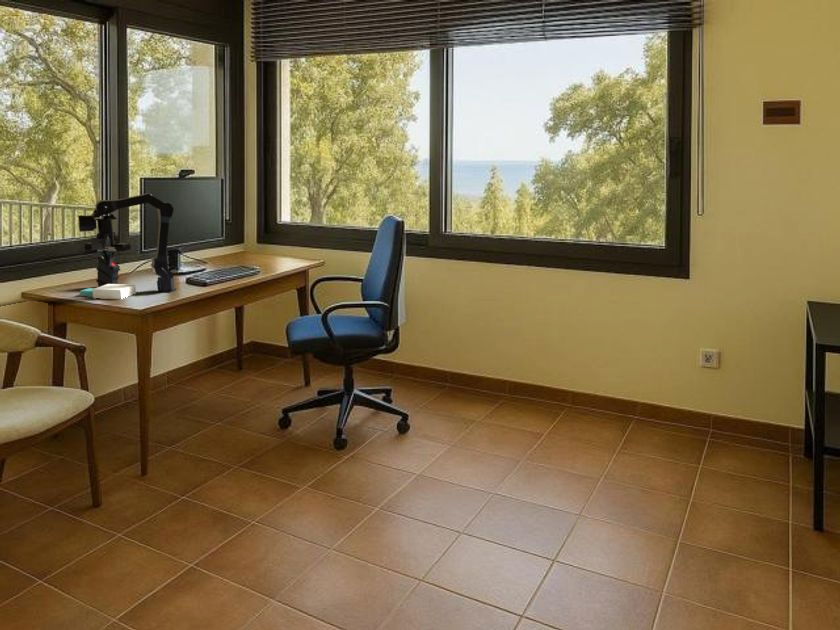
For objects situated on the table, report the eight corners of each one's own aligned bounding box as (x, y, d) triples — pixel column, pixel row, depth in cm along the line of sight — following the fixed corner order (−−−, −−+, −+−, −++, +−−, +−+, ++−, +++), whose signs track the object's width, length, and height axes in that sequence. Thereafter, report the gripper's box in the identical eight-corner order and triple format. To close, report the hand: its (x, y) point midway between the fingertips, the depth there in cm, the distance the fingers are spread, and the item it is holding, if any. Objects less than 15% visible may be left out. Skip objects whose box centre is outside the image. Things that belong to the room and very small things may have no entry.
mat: (107, 292, 329) (107, 292, 329) (96, 297, 321) (96, 296, 321) (87, 292, 331) (87, 291, 331) (74, 296, 322) (74, 295, 322)
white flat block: (136, 293, 328) (135, 284, 327) (121, 299, 316) (120, 290, 315) (109, 292, 330) (108, 283, 329) (93, 298, 318) (92, 289, 317)
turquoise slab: (105, 293, 327) (105, 288, 327) (97, 296, 321) (96, 291, 321) (89, 292, 329) (88, 288, 328) (80, 295, 323) (80, 290, 322)
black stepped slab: (99, 282, 346) (105, 254, 339) (117, 296, 341) (123, 268, 335) (92, 283, 343) (98, 255, 336) (110, 298, 338) (116, 270, 332)
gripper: (74, 232, 310) (78, 269, 313) (115, 233, 307) (119, 270, 310) (89, 229, 320) (93, 264, 324) (129, 229, 317) (133, 265, 321)
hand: (109, 266), depth 320 cm, fingers closed
